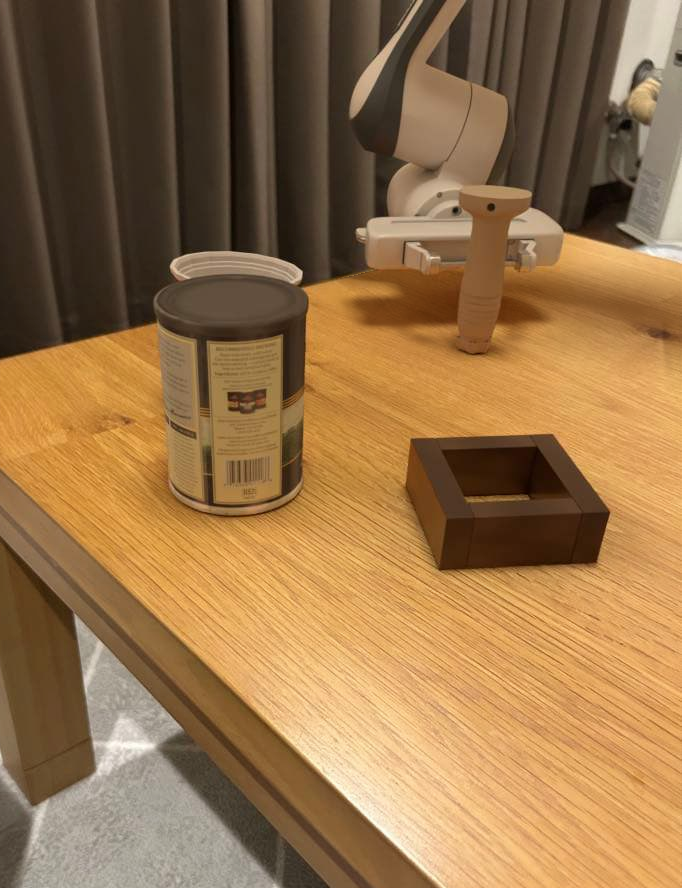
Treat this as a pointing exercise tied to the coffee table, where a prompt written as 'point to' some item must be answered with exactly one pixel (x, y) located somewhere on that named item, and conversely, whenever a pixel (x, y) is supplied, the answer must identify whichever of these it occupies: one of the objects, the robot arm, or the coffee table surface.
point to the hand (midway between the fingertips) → (481, 265)
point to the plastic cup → (233, 266)
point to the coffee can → (233, 390)
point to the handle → (485, 260)
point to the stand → (504, 502)
